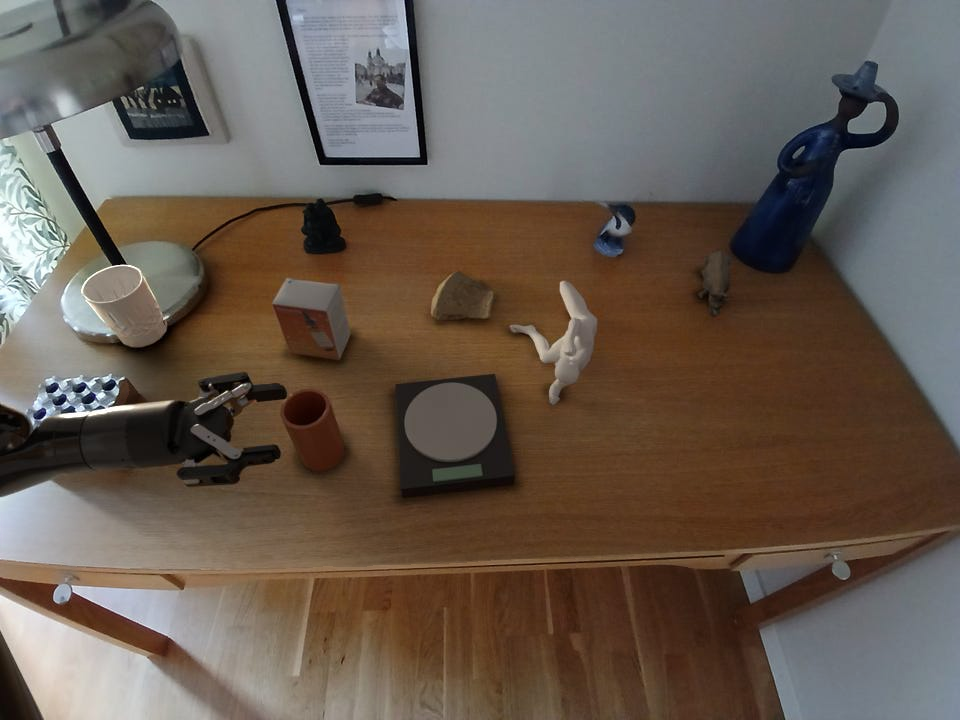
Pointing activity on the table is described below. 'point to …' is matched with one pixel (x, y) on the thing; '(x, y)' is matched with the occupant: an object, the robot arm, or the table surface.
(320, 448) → the cup
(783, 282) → the table surface
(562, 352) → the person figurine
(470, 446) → the scale
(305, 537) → the table surface
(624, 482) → the table surface
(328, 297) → the small box
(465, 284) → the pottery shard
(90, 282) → the white cup
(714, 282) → the rhino figurine
